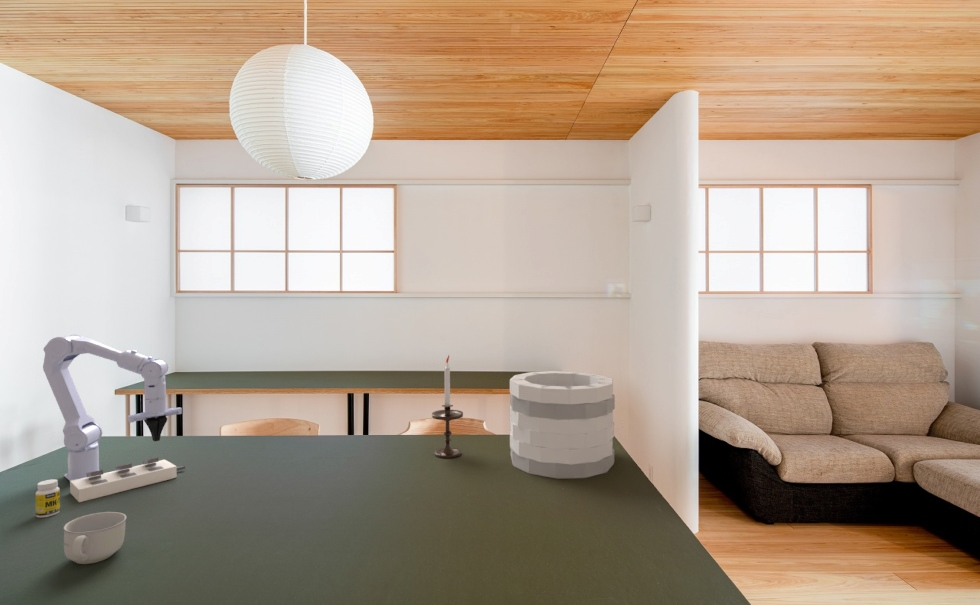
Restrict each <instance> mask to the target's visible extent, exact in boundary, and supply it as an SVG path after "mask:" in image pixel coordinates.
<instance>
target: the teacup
mask: <svg viewBox="0 0 980 605" xmlns="http://www.w3.org/2000/svg"><path fill="white" fill-rule="evenodd" d="M126 521H127V515H126V514H125V513H123V512H117V511H103V512H97V513H90V514H86V515H82V516H79V517H77V518H74V519H72V520H70V521H69V522H66V523H65V525H64V526H63V532H64V533H63V551H64V555H65V557H66V559H68V560H70V561H72V562H74V563H76V564H80V565H90V564H96V563H99V562H102V561H104V560H106V559H109V558H111V556H113V555H114V554H115V553H116V552H118V551H119V549H120V548H121V547H122V546H123V544H124V541H125V534H126Z"/></svg>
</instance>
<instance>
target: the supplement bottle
mask: <svg viewBox="0 0 980 605" xmlns="http://www.w3.org/2000/svg"><path fill="white" fill-rule="evenodd" d="M58 481H59V480H58V479H53V478H51V479H46V480H45V479H44V480H42V481H40V482H38V483H37V491H36V492H35V517H37V518H39V519H40V518H42V519H43V518H49V517H52V516H55V515H57V514H59V513H60V510H61V501H60V500H61V497H60V496H61V492H60V491H61V490H60V487H59V486H58V485H59V482H58Z"/></svg>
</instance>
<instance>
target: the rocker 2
mask: <svg viewBox="0 0 980 605" xmlns="http://www.w3.org/2000/svg"><path fill="white" fill-rule="evenodd" d="M132 467H133V466H132V463H127V464H121V465H117V466H115V471H118V470H123V469H128V468H132Z"/></svg>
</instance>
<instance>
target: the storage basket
mask: <svg viewBox="0 0 980 605" xmlns="http://www.w3.org/2000/svg"><path fill="white" fill-rule="evenodd" d="M613 381H614V379H613V378H610V377H607V376H605V375H601V374H596V373H589V372H581V371H563V370H562V371H561V370H559V371H558V370H557V371H556V370H549V371H548V370H546V371H545V370H544V371H530V372H525V373H520V374H515V375H512V377H511V378H510V379H509V394H510V396H509V397H510V401H509V402H510V406H509V431H510V432H509V448H510V459H511V463H512V464H511V465H512V466H513V467H515V468H517V469H519V470H521V471H523V472H525V473H527V474H529V475H535V476H541V477H547V478H551V479H552V478H553V479H587V478H590V477H594V476H598V475H601V474H605V473H608V471H609V470H610V469H611V468H612V467H613V465H614V464H615V449H614V447H613V442H614V441H613V440H614V439H613V438H614V437H615V422H614V410H615V407H616V406H615V403H616V402H615V401H616V400H615V398H616V397H615V394H613V392H614V390H613V389H614V385H613V384H614V382H613Z"/></svg>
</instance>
